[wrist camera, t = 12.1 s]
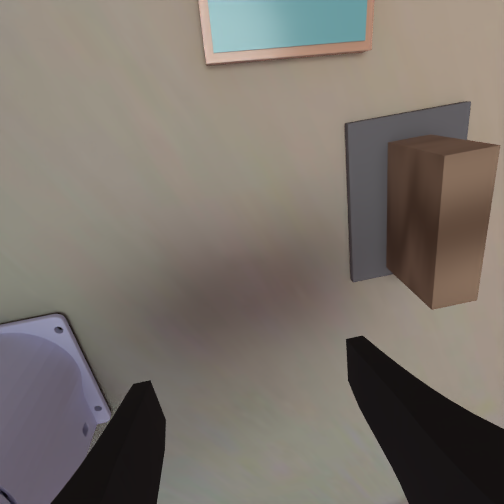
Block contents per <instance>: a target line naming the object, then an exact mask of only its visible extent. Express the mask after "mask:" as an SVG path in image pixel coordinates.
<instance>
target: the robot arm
mask: <svg viewBox="0 0 504 504" xmlns="http://www.w3.org/2000/svg"><path fill="white" fill-rule="evenodd" d="M57 327H61V328H62V329H63V330H60V329H58V328H57ZM346 346H347V367H348V381H349V384H350V386H351V389H352V391H353V394H354V396H355V398H356V401H357V403H358V406H359V408H360V410H361V411H362V413H363V415H364V417H365V419H366V421H367V423H368V424H369V426H370V428H371V430H372V432H373V434H374V435H375V437H376V439H377V441H378V443H379V444H380V446H381V448H382V450H383V452H384V454H385V455H386V457H387V459H388V461H389V463H390V464H391V466H392V468H393V470H394V472H395V474H396V476H397V478H398V480H399V482H400V484H401V487H402V489H403V491H404V494H405V496H406V498H407V500H408V503H409V504H504V429H503V428H501V427H499V426H497V425H495V424H493V423H491V422H489V421H487V420H485V419H483V418H481V417H479V416H477V415H475V414H473V413H471V412H470V411H468V410H466V409H465V408H463V407H461V406H459V405H458V404H456V403H454V402H452V401H451V400H449V399H448V398H446V397H444V396H443V395H441V394H440V393H438V392H437V391H435V390H434V389H432V388H431V387H429V386H428V385H426V384H425V383H423V382H422V381H420V380H419V379H418V378H416V377H415V376H413V375H412V374H411V373H409V372H408V371H407V370H405V369H404V368H403V367H401V366H400V365H399V364H397V363H396V362H395V361H393V360H392V359H391V358H390V357H388V356H387V355H386V354H385V353H383V352H382V351H381V350H380V349H378V348H377V347H376V346H375V345H373V344H372V343H371V342H370V341H369V340H367V339H366V338H365V337H363V336H358V337H354V338H349V339H346ZM98 406H101V407H98ZM110 417H111V412H110V410H109V407H108V405H107V403H106V401H105V399H104V397H103V395H102V393H101V391H100V389H99V387H98V385H97V383H96V380H95V378H94V376H93V374H92V372H91V370H90V368H89V366H88V364H87V362H86V360H85V358H84V356H83V353H82V351H81V349H80V347H79V345H78V343H77V341H76V339H75V337H74V335H73V333H72V331H71V328H70V326H69V324H68V322H67V320H66V318H65V317H64V316H63V315H61V314H51V315H46V316H41V317H36V318H31V319H26V320H21V321H16V322H11V323H6V324H1V325H0V504H157V498H158V491H159V485H160V478H161V472H162V465H163V458H164V451H165V428H166V419H165V417H164V414H163V412H162V409H161V406H160V404H159V401H158V399H157V396H156V393H155V391H154V388H153V386H152V383H151V381H145V382H141V383H136V384H133V385H132V387H131V388H130V390H129V392H128V393H127V395H126V396H125V398H124V400H123V401H122V403H121V405H120V406H119V408H118V409H117V411H116V413H115V414H114V416H113V417H112V419H111V421H110V422H109V424H108V425H107V427H106V428H105V430H104V431H103V433H102V434H101V436H100V438H99V439H98V441H97V442H96V444H95V445H94V446H93V448H92V449H91V451H90V452H89V454H88V455H87V452H88V449H89V446H90V443H91V440H92V437H93V435H94V432H95V429H96V426H97V424H100V423H105V422H108V421H109V420H110ZM86 455H87V456H86Z"/></svg>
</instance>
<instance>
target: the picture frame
mask: <svg viewBox="0 0 504 504" xmlns="http://www.w3.org/2000/svg"><path fill="white" fill-rule="evenodd" d="M198 2H199V10H200V18H201V26H202V35H203V43H204V51H205V59H206V66H207V65H219V64H231V63H242V62H254V61H266V60H278V59H290V58H302V57H313V56H325V55H337V54H349V53H361V52H365V51H369V50H372V33H373V15H374V0H198Z"/></svg>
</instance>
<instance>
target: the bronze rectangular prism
mask: <svg viewBox="0 0 504 504" xmlns="http://www.w3.org/2000/svg"><path fill="white" fill-rule="evenodd" d="M499 150H500V145H495V144H489V143H482V142H476V141H470V140H463V139H457V138H450V137H444V136H438V135H431V134H430V135H425V136H419V137H414V138H408V139H403V140H398V141H392V142H388V168H387V246H386V267H387V268H388V269H389V270H390V271H391V272H392V273H393V274H394V275H395V276H396V277H397V278H398V279H400V280H401V281H402V282H403V283H404V284H405V285H406V286H407V287H408V288H409V289H410V290H411V291H412V292H413V293H415V294H416V295H417V296H418V297H419V298H420V299H421V300H422V301H423V302H424V303H425V304H426V305H427V306H428V307H430V308H431V309H432V310H433V309H437V308H442V307H447V306H452V305H456V304H461V303H466V302H471V301H476V300H477V297H478V290H479V283H480V277H481V270H482V263H483V257H484V250H485V243H486V237H487V230H488V223H489V217H490V210H491V203H492V197H493V190H494V183H495V177H496V170H497V163H498V157H499Z"/></svg>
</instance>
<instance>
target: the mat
mask: <svg viewBox="0 0 504 504" xmlns="http://www.w3.org/2000/svg"><path fill="white" fill-rule="evenodd" d="M470 106H471V102H460V103H455V104H449V105H444V106H438V107H433V108H427V109H422V110H416V111H411V112H405V113H400V114H394V115H389V116H383V117H378V118H372V119H367V120H361V121H356V122H350V123H345V138H346V164H347V190H348V217H349V243H350V269H351V280H352V281H353V282H357V281H362V280H367V279H371V278H376V277H381V276H386V275H391V274H393V273H392V272H391V271H390V270H389V269H388V268H387V267H386V246H387V168H388V142H392V141H398V140H403V139H408V138H414V137H419V136H425V135H430V134H431V135H438V136H444V137H450V138H457V139H463V140H467V134H468V124H469V115H470Z"/></svg>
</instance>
